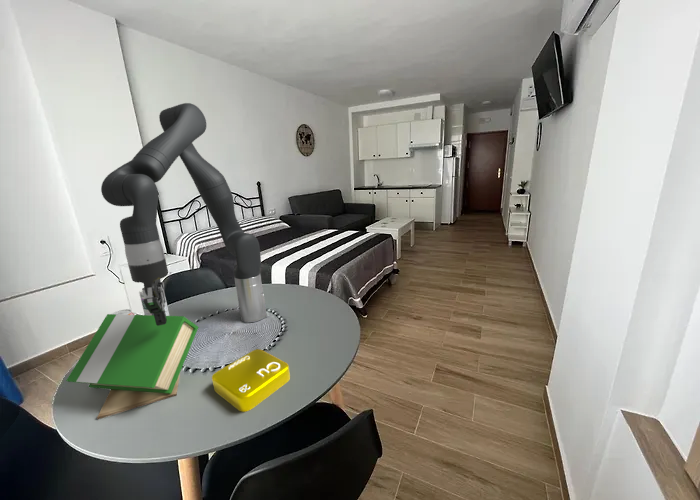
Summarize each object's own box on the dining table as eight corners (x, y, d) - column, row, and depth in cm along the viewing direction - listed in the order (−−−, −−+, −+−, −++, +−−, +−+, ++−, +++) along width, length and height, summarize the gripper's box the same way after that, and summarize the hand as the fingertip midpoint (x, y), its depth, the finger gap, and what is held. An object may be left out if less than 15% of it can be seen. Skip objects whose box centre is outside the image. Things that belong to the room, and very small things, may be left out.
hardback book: (151, 387, 68) (65, 381, 72) (171, 393, 74) (91, 387, 77) (183, 316, 78) (107, 314, 82) (198, 326, 84) (126, 324, 88)
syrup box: (146, 327, 109) (137, 291, 105) (161, 319, 114) (153, 285, 110) (157, 329, 107) (148, 293, 103) (171, 322, 112) (163, 286, 108)
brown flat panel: (181, 364, 86) (181, 362, 86) (176, 395, 74) (175, 393, 74) (115, 382, 80) (114, 380, 80) (97, 419, 67) (97, 417, 67)
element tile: (259, 359, 87) (257, 345, 86) (293, 378, 78) (291, 363, 77) (211, 389, 76) (207, 374, 75) (244, 416, 67) (241, 399, 66)
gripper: (160, 263, 66) (175, 331, 71) (168, 251, 78) (180, 310, 82) (120, 269, 63) (139, 340, 68) (134, 255, 75) (149, 316, 79)
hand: (162, 323), depth 75 cm, fingers closed
